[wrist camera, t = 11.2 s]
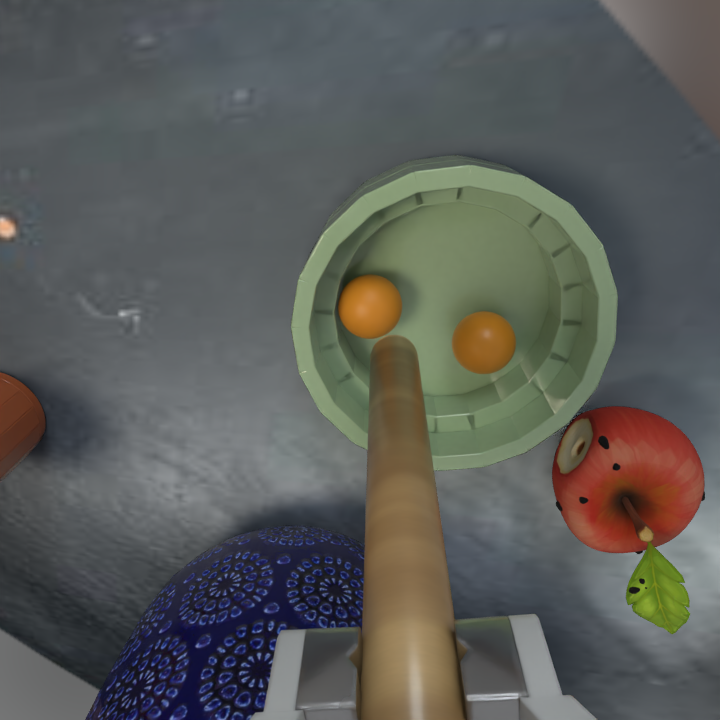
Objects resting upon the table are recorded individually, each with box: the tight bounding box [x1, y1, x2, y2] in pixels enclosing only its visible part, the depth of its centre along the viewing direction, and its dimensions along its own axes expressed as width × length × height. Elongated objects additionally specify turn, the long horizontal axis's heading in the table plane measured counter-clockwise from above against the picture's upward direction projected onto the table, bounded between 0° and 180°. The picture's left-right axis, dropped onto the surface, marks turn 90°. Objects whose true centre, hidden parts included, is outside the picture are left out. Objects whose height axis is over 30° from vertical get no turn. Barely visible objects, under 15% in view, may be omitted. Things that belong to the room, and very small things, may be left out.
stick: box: [360, 335, 466, 720], centre depth 15 cm, size 2×2×19 cm
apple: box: [552, 406, 705, 634], centre depth 28 cm, size 8×7×10 cm
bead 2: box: [452, 311, 516, 374], centre depth 28 cm, size 3×3×3 cm
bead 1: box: [338, 274, 402, 339], centre depth 28 cm, size 3×3×3 cm
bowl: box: [291, 155, 618, 471], centre depth 27 cm, size 14×14×5 cm
